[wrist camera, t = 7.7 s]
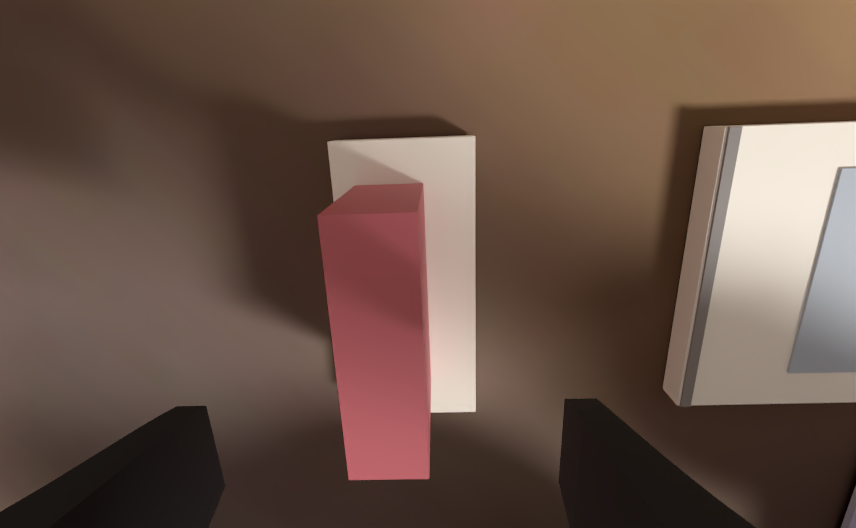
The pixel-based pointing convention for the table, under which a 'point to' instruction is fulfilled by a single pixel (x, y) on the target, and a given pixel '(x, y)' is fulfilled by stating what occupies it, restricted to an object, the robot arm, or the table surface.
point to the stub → (400, 294)
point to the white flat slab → (768, 269)
